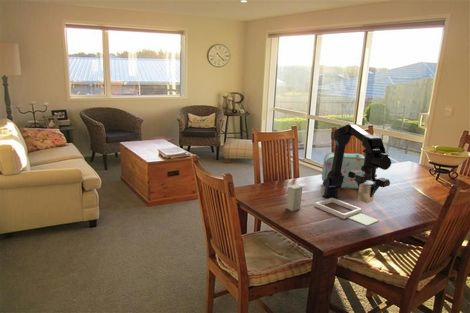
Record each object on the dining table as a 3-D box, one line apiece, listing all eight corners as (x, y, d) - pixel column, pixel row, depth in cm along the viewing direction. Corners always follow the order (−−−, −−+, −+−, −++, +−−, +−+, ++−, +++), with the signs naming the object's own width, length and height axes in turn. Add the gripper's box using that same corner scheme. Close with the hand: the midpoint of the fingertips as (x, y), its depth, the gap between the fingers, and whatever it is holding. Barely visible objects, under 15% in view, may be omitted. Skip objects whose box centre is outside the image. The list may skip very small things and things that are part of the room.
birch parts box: (357, 200, 171) (359, 183, 169) (363, 198, 174) (365, 181, 172) (366, 203, 167) (369, 186, 165) (372, 201, 170) (375, 184, 168)
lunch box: (362, 184, 225) (367, 151, 220) (368, 190, 215) (373, 155, 210) (319, 182, 225) (323, 149, 220) (323, 188, 215) (327, 153, 210)
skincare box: (294, 206, 186) (296, 183, 183) (300, 208, 182) (303, 186, 179) (285, 208, 182) (287, 185, 179) (292, 211, 179) (294, 188, 176)
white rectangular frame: (314, 206, 186) (314, 202, 186) (331, 200, 195) (332, 197, 195) (344, 218, 172) (344, 215, 172) (361, 212, 181) (362, 208, 181)
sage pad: (348, 218, 173) (348, 217, 173) (360, 213, 179) (360, 213, 179) (366, 226, 166) (366, 225, 165) (378, 221, 172) (378, 220, 171)
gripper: (342, 161, 168) (339, 192, 172) (379, 171, 154) (374, 205, 158) (356, 158, 175) (352, 188, 179) (392, 167, 160) (387, 200, 164)
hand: (365, 195), depth 170 cm, fingers closed on birch parts box, 5 cm apart
